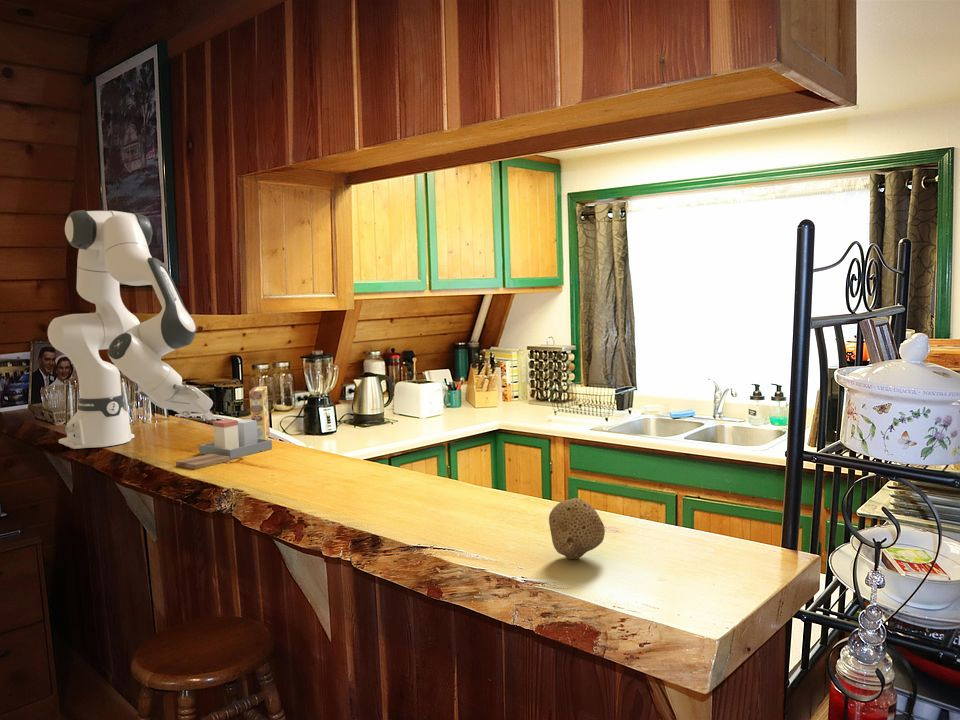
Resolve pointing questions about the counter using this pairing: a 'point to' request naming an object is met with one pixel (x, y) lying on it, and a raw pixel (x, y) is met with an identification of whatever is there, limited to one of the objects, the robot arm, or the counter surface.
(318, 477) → the counter surface
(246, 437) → the tall white block
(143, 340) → the robot arm
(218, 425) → the cream carton
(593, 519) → the natural sponge
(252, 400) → the candy box
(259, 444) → the grey square frame
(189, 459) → the walnut board
